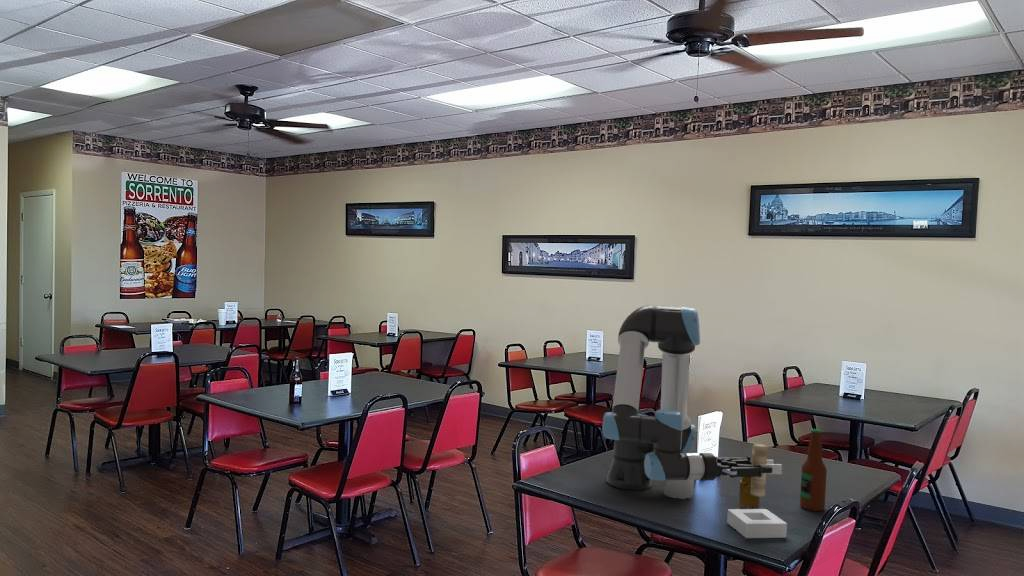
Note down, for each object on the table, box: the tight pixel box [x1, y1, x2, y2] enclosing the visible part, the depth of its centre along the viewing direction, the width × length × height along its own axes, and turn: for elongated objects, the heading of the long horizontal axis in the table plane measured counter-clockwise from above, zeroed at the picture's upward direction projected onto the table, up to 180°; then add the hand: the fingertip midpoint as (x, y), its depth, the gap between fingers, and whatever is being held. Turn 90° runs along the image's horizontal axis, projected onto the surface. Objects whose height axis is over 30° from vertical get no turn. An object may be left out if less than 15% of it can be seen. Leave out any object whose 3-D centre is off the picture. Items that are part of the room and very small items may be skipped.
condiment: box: [738, 477, 761, 509], centre depth 223 cm, size 7×8×12 cm
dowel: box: [750, 443, 769, 498], centre depth 207 cm, size 4×4×14 cm
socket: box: [726, 508, 788, 539], centre depth 208 cm, size 12×12×4 cm
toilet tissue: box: [663, 480, 695, 500], centre depth 240 cm, size 9×13×9 cm
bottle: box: [799, 428, 828, 512], centre depth 230 cm, size 7×7×25 cm
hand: (776, 466), depth 208 cm, fingers closed on dowel, 4 cm apart
